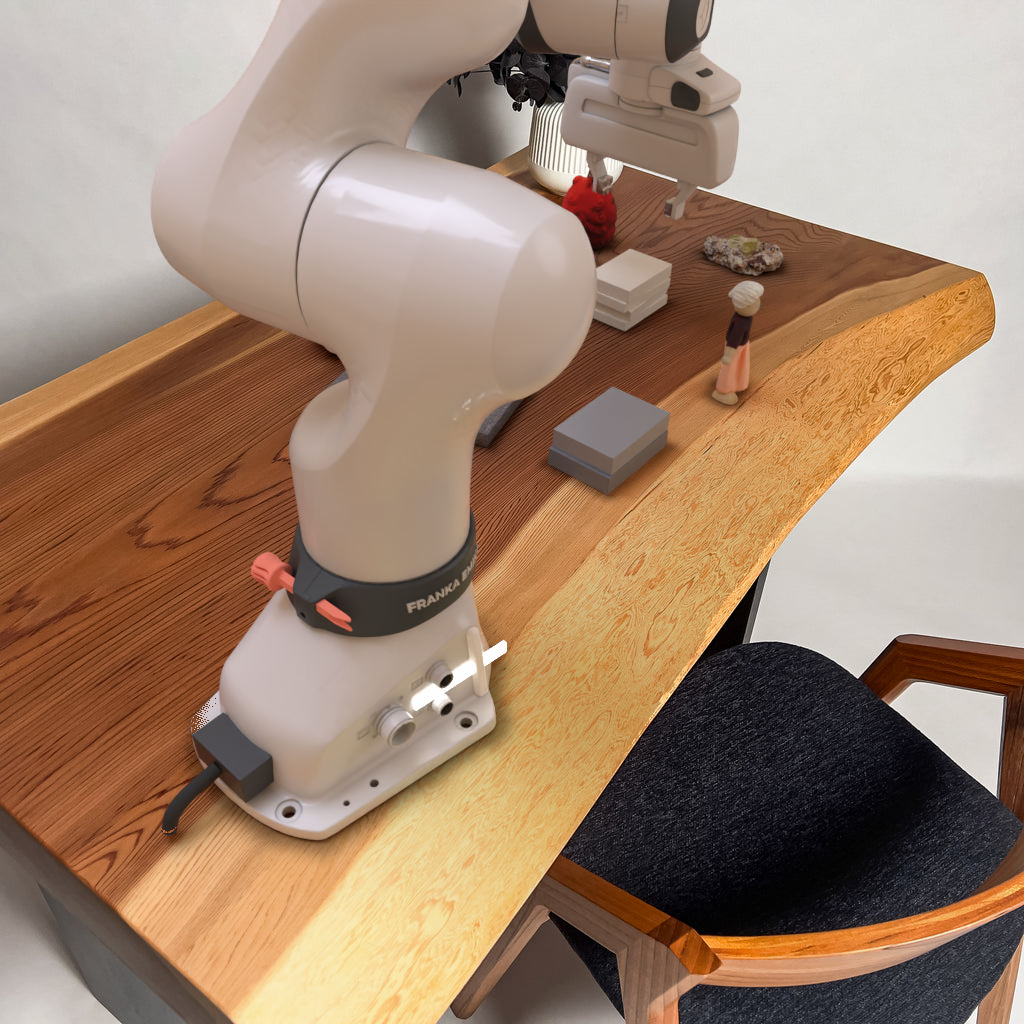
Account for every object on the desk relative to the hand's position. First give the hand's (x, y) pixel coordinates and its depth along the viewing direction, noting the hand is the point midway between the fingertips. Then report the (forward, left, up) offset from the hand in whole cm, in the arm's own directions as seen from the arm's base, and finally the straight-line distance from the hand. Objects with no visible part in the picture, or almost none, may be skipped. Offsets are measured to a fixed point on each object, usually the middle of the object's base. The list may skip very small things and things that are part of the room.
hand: (636, 204), depth 106 cm
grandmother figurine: (-7, -18, -13) cm, 23 cm away
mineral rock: (+21, -4, -13) cm, 25 cm away
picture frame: (-28, +5, -13) cm, 31 cm away
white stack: (0, 0, -13) cm, 13 cm away
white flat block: (0, 0, -9) cm, 9 cm away
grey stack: (-25, -15, -13) cm, 32 cm away
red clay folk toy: (+11, +14, -13) cm, 22 cm away
